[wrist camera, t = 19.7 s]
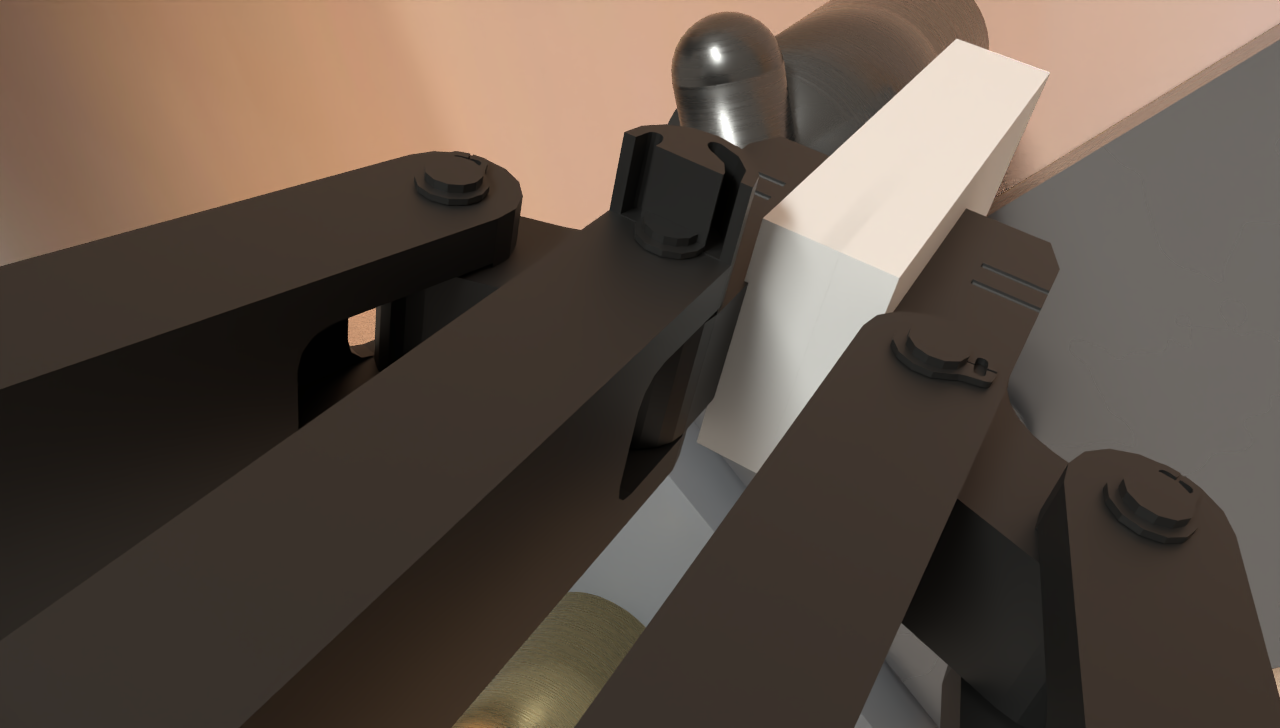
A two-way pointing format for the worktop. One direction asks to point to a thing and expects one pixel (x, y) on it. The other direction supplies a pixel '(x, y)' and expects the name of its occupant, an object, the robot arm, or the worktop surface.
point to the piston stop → (557, 667)
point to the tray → (673, 538)
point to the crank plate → (1161, 310)
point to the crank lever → (811, 68)
